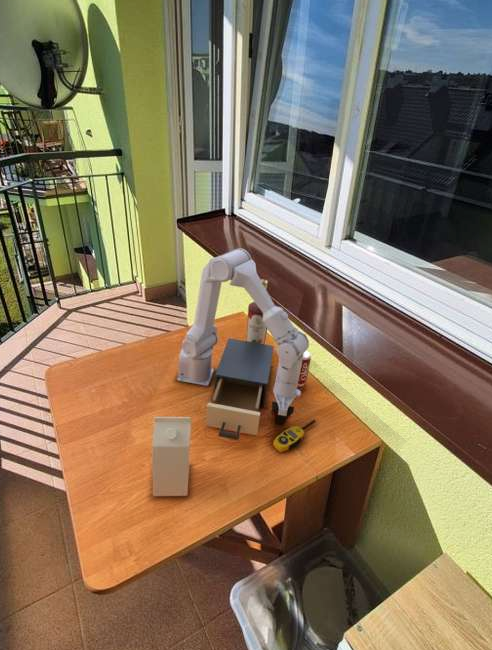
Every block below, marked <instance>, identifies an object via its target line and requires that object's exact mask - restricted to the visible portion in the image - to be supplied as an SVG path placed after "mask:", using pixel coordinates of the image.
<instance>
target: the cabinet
mask: <svg viewBox="0 0 492 650" xmlns="http://www.w3.org/2000/svg"><path fill="white" fill-rule="evenodd" d="M274 348H275V345H270V344H266V343H265V344H260V343H254V342H248V341H246V340H242V339H235V338H230V337H228V339H227V342H226V344H225V347H224V350H223V353H222V355H221V358H220V362H219V364H218V366H217V369H216V372H215V373H214V386H213V387H214V388H213V394H214V393H215V390H216V387H217V385H218V382H219V379H220V378H225V379H231V380H236V381H242V382H247V383H253V384H258V385H263V390H262V395H261V401H260V406H259V408H263V409H264V408H265V405H266V398H267V392H268V387H269V380H270V375H271V369H272V362H273V361H272V360H273V355H274Z"/></svg>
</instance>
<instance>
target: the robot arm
mask: <svg viewBox="0 0 492 650" xmlns="http://www.w3.org/2000/svg"><path fill="white" fill-rule="evenodd" d="M229 281H230V282H229ZM226 282H229V285H230V286H232V287H238V288H243V289H244V290H245V291H246V292H247V294H248V295H249V297H250V298H251V299H252V300H253V302H255V303H256V304H257V306H258V307H259V308H260V310H261V311H262V312H263V323H264V324H265V326H266V327H267V331H268V332H269V333H270V335H271V337H272V338H273V340H274V341H275V343H276V344H277V346H276V349H275V350H276V354H277V356H278V364H277V369H276V375H275V381H274V382H275V383H274V386H273V389H272V393H273V396H274V398H275V400H276V401H272V402H271V409H272V410H273V412H274V415H275V419H274V423H275V425H276V426H282V427H284V426H285V424H286V422H287V421H288V420H287V418H288V417H289V416H290V415H291V416H292V415H293V413H294V412H295V406H291V404H292V403H293V402H294V400H295V398H300V397H301V393H302V390H297V385H298V381H299V376H300V371H301V366H302V359H303V353H304V352H305V351H306V350H307V351H308V349H309V346H310V342H309V339H308V337H307V335H306V334H305V332H303V331H300V330H299V329H298V328H297V327H295V326H294V324H293V323H292V321H291V320H290V318H289V314H288V313H287V312H286V311H284V308H282V307H280V306H276V305H275V303H274V302H273V300H272V298H271V296H270V294H269V292H268V291H267V289H265V287H264V285H263V283H262V282H261V277H260V276H259V275H258V272H257V266H256V262H255V261H254V260H253V259H252V256H251V254H250V253H249V251H247V250H246V249H245V248H241V247H240V248H239V247H238V248H235V249H232V250H230V251H227V252H225V253H223V254H221V255H218V256H216V257H211V258H209V260H208V263H207V264H206V265H205V266H204V267H203V268H202V272H201V278H200V284H199V291H198V296H197V302H196V303H197V305H196V309H195V316H194V321H193V324H192V325H191V327H190V328H189V329H188V331H187V332H186V334H185V338H184V339H183V340H182V342H181V350H180V353H179V356H178V365H177V366H178V368H177V379H176V380H177V381H178V382H184V383H188V384H194V385H199V386H205V387H208V386H209V385H210V382H211V380H212V377H213V374H214V372H215V368H212V357H213V350H214V346H216V345H217V344H218V341H219V337H218V327H217V326H216V325H215V319H216V313H217V309H218V304H219V298H220V293H221V289H222V284H223V283H226ZM286 420H287V421H286Z"/></svg>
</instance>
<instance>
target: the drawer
mask: <svg viewBox="0 0 492 650" xmlns="http://www.w3.org/2000/svg"><path fill="white" fill-rule="evenodd" d="M262 390H263V385H258V384H253V383H247V382H242V381H236V380H231V379H225V378H220V379H219V382H218V385H217V387H216V390H215V393H214V392H213V396H212V400H211V402H207V404H206V415H205V416H206V417H205V427H211V428H216V429H219V431H218V437H221V438H225V439H230V440H236V441H239V439H240V436H241V435H240V434H241V433H242V434H246V435H252V436H258V432H259V427H260V419H261V411H260V407H259V406H260V401H261V395H262ZM231 431H232V432H231Z"/></svg>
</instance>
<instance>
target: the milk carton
mask: <svg viewBox="0 0 492 650" xmlns="http://www.w3.org/2000/svg"><path fill="white" fill-rule="evenodd" d="M153 420H154V421H153V431H152V432H153V433H152V441H151V442H152V444H151V452H152V455H151V456H152V459H151V460H152V496H153V497H187V496H188V492H189V491H188V489H189V476H190V475H189V473H190V472H189V471H190V455H191V452H190V451H191V433H192V429H191V427H192V418H191V417H190V416H154V417H153Z"/></svg>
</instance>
